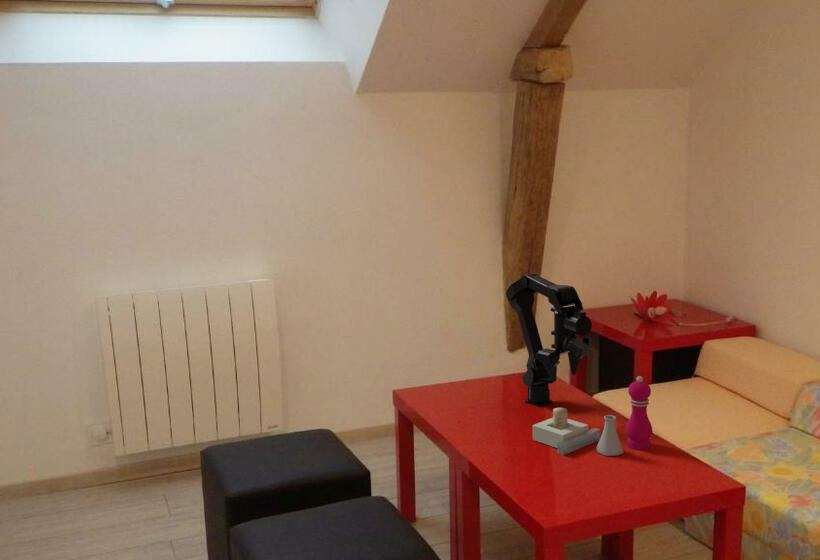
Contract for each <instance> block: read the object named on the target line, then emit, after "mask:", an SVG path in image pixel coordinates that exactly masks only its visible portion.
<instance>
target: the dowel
mask: <svg viewBox="0 0 820 560" xmlns="http://www.w3.org/2000/svg"><path fill="white" fill-rule="evenodd" d="M552 418H553V428H556V429H559V430H563V429H566V428H568V419H569V418H568V409H567V408H565V407H556V408H555V407H554V408H553V409H552Z"/></svg>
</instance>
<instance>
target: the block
mask: <svg viewBox="0 0 820 560" xmlns="http://www.w3.org/2000/svg"><path fill="white" fill-rule="evenodd" d="M588 430H589V425H588V424H586V423H583V422H579V421H577V420H573V419H570V418H568V428H566V429H563V430H559V429H556V428H553V417H551V418H548V419H545V420H543V421H540V422H538V423H535V424H533V425H532V440H533V441H535V442H537V443H542V444H544V445H546V446H549V447H553V448H556V449H557V443H559V442H561V441H564V440H566V439H569V438H571V437H574V436H576V435H578V434H581V433H583V432H586V431H588Z"/></svg>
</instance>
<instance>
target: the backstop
mask: <svg viewBox="0 0 820 560" xmlns="http://www.w3.org/2000/svg"><path fill="white" fill-rule="evenodd" d="M600 438H601V429H600V428H595V427H593V428H591V429H588V431H586V432H583V433H581V434H578V435H576V436H574V437H571V438H569V439H566V440H564V441H561V442H559V443H557V448H556V450H557V453H556V454H558V455H560V456H566V455H568V454H569V453H572V452H575V451H577V450H580V449H582V448H584V447H586V446H589V445H591V444H593V443H596V442H599V441H600Z"/></svg>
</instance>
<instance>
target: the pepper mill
mask: <svg viewBox="0 0 820 560" xmlns="http://www.w3.org/2000/svg"><path fill="white" fill-rule="evenodd" d="M635 379H636V381H633V382H632V383H630V384H629V385H628V390H627V391H628V392H627V393H628V395H629V396H630V398H629V400H630V401H629V403H630V405H631V415H630V416H629V419H628V421H627V423H626V426H625V434H626V436H628V437H627V439H626V441H627V442H626V444H627V447H628V448H631V449H633V450H641V451H642V450H643V451H644V450H647V449H649V448H650V447H651V445H652V444H651V443H652V441H651V439H650V437H651V436H653V433H654V431H653V426H652V424H651V421H650V419H649V417H648V406H649V404H650V403H649V402H650V399H649V397H650V396H651V394H652V391H651V389H652V388H651V386H650V385H649V384H648V383H647V382H645V381H644V377H642V376H640V375H638V376H637V377H636V378H635Z"/></svg>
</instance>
